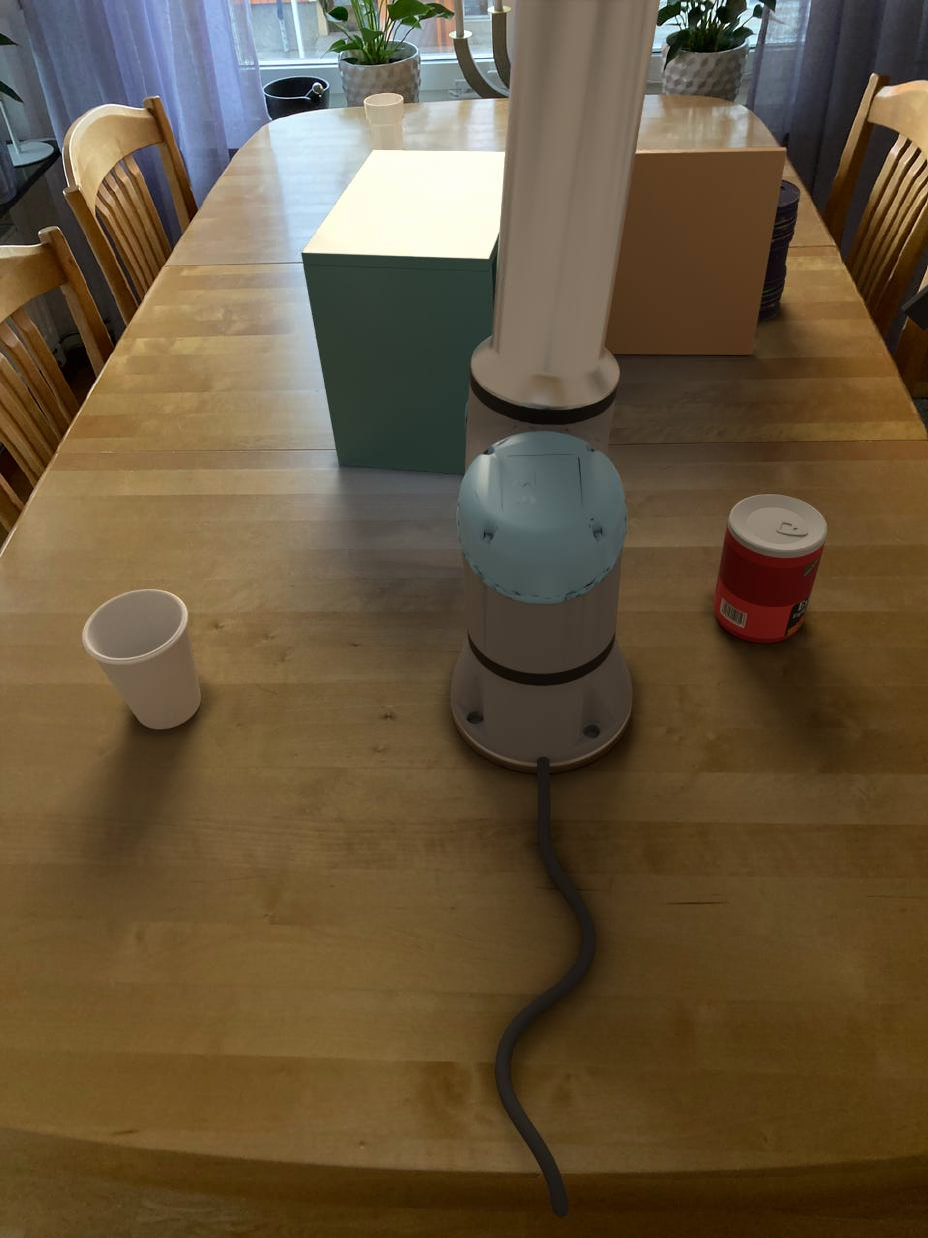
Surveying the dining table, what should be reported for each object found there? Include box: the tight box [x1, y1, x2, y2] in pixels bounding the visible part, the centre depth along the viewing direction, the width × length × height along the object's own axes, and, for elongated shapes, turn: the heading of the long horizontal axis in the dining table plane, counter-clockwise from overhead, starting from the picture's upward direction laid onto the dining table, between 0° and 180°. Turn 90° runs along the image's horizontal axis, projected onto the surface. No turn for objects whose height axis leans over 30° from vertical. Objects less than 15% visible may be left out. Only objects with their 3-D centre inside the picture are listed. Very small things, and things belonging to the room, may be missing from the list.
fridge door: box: [605, 146, 788, 356], centre depth 115 cm, size 7×26×24 cm, turn 84°
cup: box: [363, 92, 405, 150], centre depth 167 cm, size 7×7×11 cm
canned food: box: [713, 493, 828, 644], centre depth 84 cm, size 8×8×11 cm
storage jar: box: [757, 178, 802, 323], centre depth 123 cm, size 10×10×15 cm
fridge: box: [300, 149, 505, 475], centre depth 107 cm, size 18×26×24 cm
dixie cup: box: [81, 588, 202, 730], centre depth 81 cm, size 8×8×10 cm
